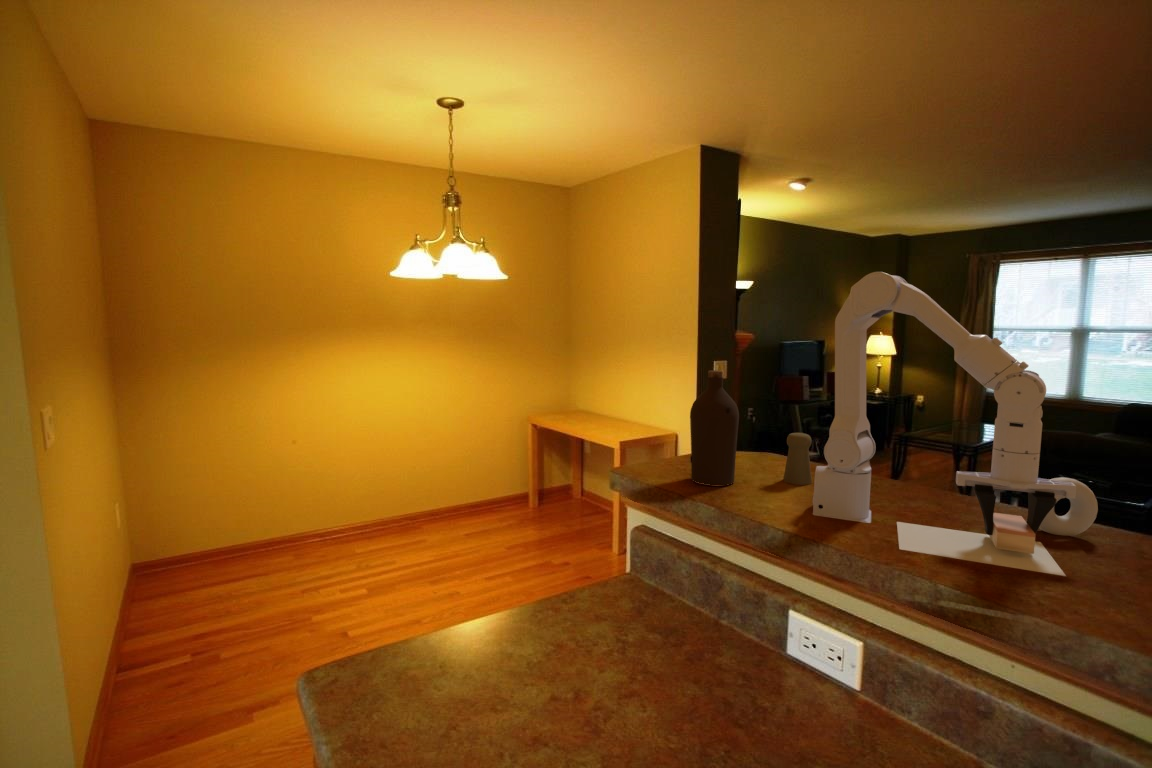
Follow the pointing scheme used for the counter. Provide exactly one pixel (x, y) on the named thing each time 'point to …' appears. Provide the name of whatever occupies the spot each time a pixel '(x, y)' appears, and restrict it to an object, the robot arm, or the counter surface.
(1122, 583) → the counter surface
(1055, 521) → the donut
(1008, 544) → the pink and beige box
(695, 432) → the olive oil
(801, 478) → the cork
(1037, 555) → the mat
